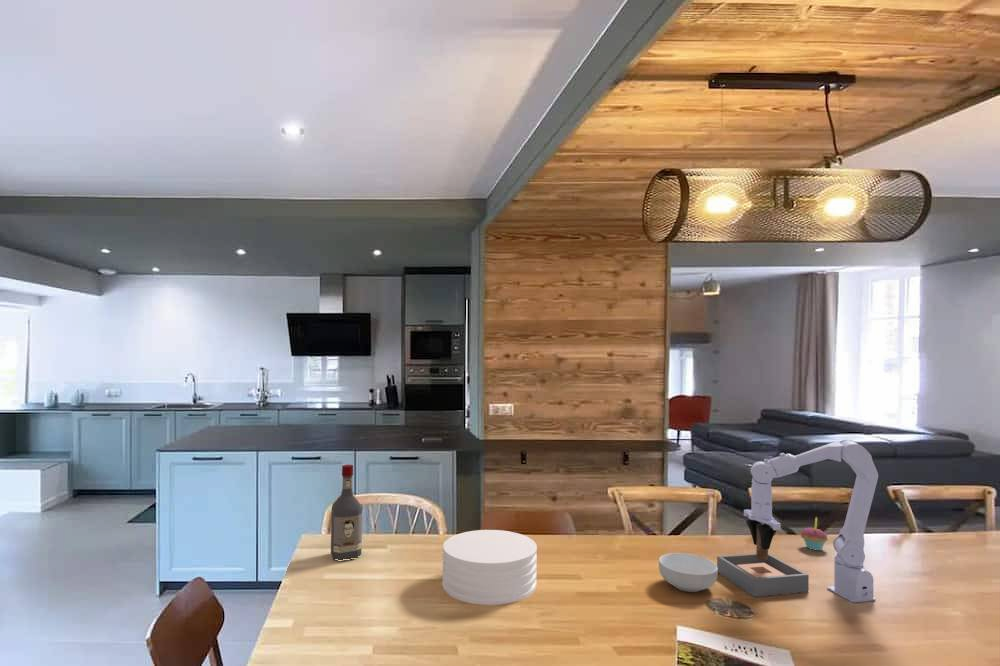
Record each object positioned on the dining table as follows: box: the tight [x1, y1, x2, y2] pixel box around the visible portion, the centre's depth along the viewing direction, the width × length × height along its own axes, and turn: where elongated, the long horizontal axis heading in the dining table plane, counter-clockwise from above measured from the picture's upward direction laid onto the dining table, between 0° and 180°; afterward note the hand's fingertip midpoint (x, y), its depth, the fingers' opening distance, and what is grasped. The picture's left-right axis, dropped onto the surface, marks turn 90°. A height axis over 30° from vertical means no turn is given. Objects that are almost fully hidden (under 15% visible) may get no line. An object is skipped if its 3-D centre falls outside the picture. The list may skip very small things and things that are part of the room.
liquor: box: [330, 464, 363, 560], centre depth 187 cm, size 9×9×30 cm
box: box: [716, 552, 810, 598], centre depth 170 cm, size 18×18×5 cm
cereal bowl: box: [658, 552, 719, 593], centre depth 166 cm, size 17×17×7 cm
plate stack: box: [441, 529, 538, 606], centre depth 166 cm, size 28×28×12 cm
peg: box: [755, 524, 769, 560], centre depth 171 cm, size 3×3×10 cm
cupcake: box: [799, 516, 828, 551], centre depth 199 cm, size 9×8×12 cm
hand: (761, 546), depth 171 cm, fingers closed on peg, 3 cm apart
